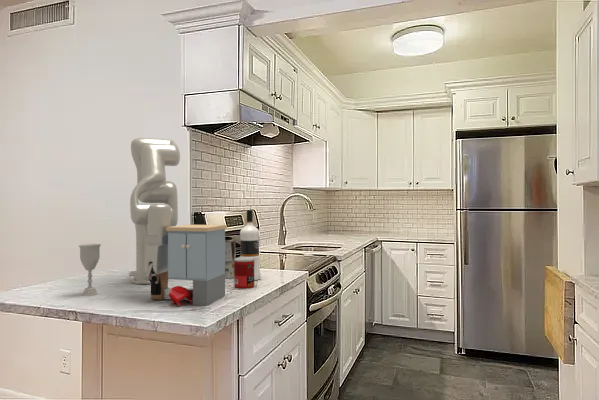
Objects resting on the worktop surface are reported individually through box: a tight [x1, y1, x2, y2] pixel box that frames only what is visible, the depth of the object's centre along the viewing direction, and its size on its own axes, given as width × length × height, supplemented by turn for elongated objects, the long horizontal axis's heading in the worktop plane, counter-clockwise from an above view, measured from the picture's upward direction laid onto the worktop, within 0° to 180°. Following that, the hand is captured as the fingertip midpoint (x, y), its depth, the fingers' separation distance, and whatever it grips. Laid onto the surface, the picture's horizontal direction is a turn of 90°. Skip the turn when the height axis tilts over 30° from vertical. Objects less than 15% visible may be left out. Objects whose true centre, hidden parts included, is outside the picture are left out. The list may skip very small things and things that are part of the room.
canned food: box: [233, 257, 255, 290], centre depth 157 cm, size 8×8×11 cm
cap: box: [169, 285, 192, 307], centre depth 131 cm, size 8×6×6 cm
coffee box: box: [225, 239, 237, 279], centre depth 178 cm, size 9×6×16 cm
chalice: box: [78, 243, 102, 297], centre depth 145 cm, size 7×7×18 cm
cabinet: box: [166, 224, 228, 306], centre depth 136 cm, size 15×16×25 cm
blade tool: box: [150, 271, 193, 301], centre depth 136 cm, size 15×4×9 cm, turn 78°
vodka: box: [239, 209, 262, 282], centre depth 172 cm, size 9×9×30 cm
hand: (159, 292), depth 137 cm, fingers closed on blade tool, 4 cm apart
